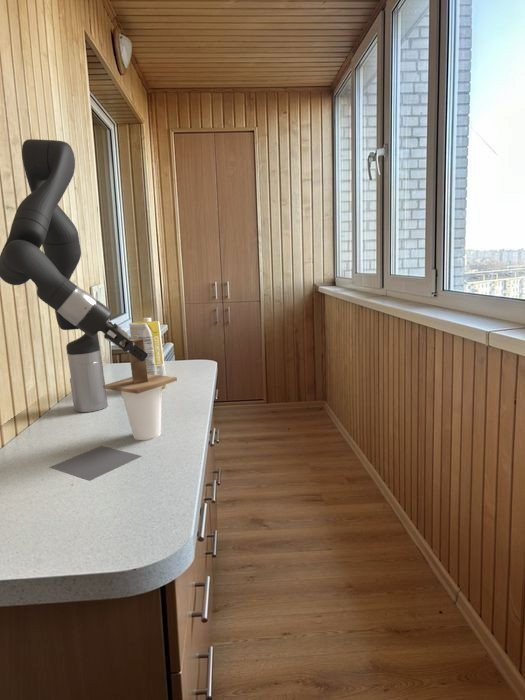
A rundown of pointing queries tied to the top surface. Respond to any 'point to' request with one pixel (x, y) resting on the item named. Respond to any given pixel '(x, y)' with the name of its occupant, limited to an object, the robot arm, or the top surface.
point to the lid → (139, 376)
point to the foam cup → (144, 413)
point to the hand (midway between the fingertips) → (143, 355)
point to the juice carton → (150, 345)
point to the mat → (95, 462)
